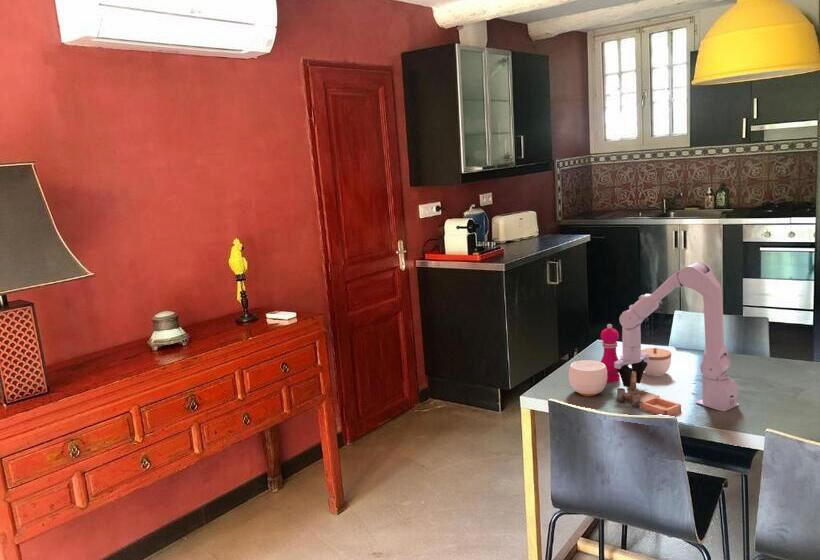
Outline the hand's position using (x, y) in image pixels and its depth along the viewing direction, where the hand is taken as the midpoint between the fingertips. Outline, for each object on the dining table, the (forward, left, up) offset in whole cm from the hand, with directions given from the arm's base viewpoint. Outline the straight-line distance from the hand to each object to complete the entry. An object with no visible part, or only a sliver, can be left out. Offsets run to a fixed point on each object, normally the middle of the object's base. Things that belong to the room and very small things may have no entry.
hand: (631, 384), depth 224 cm
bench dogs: (-8, +11, -2) cm, 14 cm away
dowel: (0, 0, -2) cm, 2 cm away
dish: (-18, +8, -2) cm, 19 cm away
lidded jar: (+5, -18, -2) cm, 19 cm away
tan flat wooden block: (-8, +5, -2) cm, 10 cm away
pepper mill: (+11, -2, -2) cm, 11 cm away
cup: (+7, +13, -2) cm, 15 cm away
